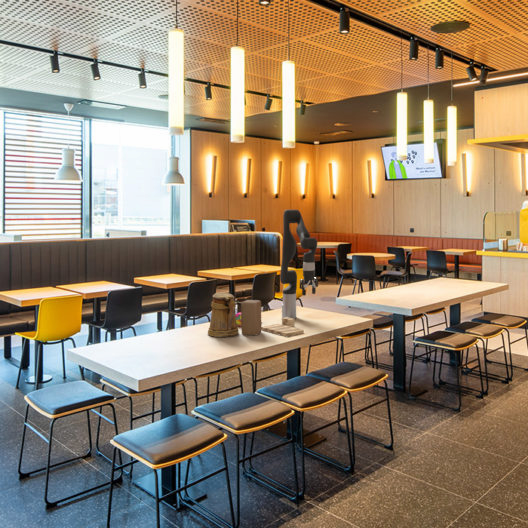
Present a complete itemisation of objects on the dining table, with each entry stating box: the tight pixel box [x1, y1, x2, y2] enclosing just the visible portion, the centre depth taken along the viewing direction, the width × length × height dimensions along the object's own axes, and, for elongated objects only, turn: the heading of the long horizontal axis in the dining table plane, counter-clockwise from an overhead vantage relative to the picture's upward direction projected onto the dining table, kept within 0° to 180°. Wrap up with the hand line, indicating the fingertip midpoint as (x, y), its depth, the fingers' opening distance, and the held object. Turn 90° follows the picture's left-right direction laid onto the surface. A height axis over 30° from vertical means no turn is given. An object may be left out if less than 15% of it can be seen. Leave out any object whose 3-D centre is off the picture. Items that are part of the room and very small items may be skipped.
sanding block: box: [281, 317, 296, 328], centre depth 345 cm, size 7×4×6 cm, turn 39°
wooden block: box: [240, 299, 262, 336], centre depth 327 cm, size 10×10×20 cm
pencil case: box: [235, 311, 241, 327], centre depth 356 cm, size 22×9×9 cm, turn 150°
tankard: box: [207, 292, 239, 338], centre depth 324 cm, size 18×24×25 cm
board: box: [261, 323, 305, 337], centre depth 332 cm, size 24×14×2 cm, turn 39°
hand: (308, 294), depth 341 cm, fingers open, 8 cm apart
